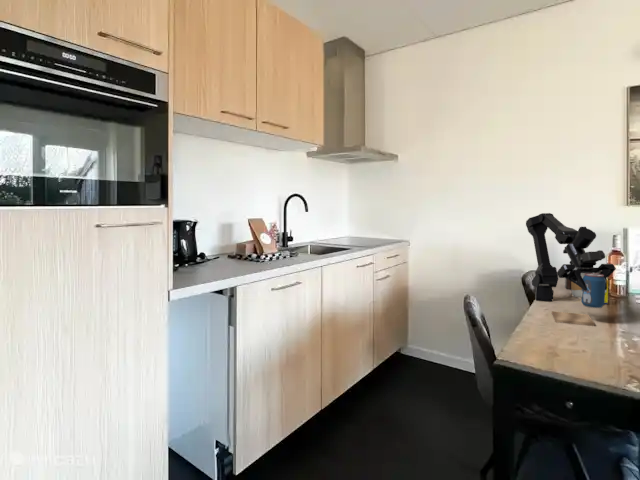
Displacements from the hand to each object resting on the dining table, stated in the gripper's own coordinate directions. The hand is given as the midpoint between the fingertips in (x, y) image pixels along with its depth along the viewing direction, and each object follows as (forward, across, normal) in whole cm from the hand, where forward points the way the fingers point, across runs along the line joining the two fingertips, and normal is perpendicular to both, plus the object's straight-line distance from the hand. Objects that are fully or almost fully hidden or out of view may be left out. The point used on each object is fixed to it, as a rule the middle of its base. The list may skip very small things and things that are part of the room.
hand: (595, 289), depth 138 cm
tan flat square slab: (+6, -6, +11) cm, 14 cm away
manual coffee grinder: (-33, +32, +52) cm, 70 cm away
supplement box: (-11, +20, +29) cm, 37 cm away
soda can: (+4, 0, +6) cm, 7 cm away
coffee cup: (-19, +20, +38) cm, 47 cm away
